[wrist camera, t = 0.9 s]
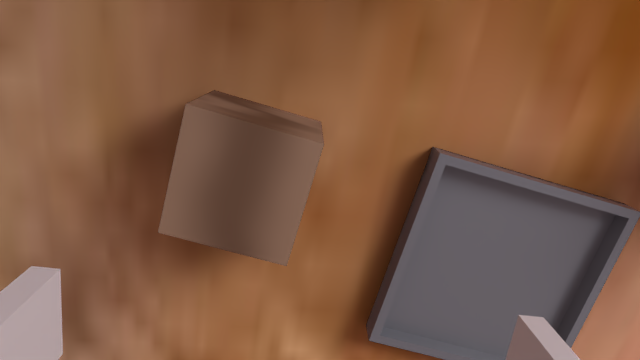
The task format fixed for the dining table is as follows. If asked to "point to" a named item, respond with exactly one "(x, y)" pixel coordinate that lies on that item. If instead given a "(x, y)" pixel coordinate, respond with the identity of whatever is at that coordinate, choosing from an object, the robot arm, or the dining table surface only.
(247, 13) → the dining table surface
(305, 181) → the walnut cube
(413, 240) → the slate tray
